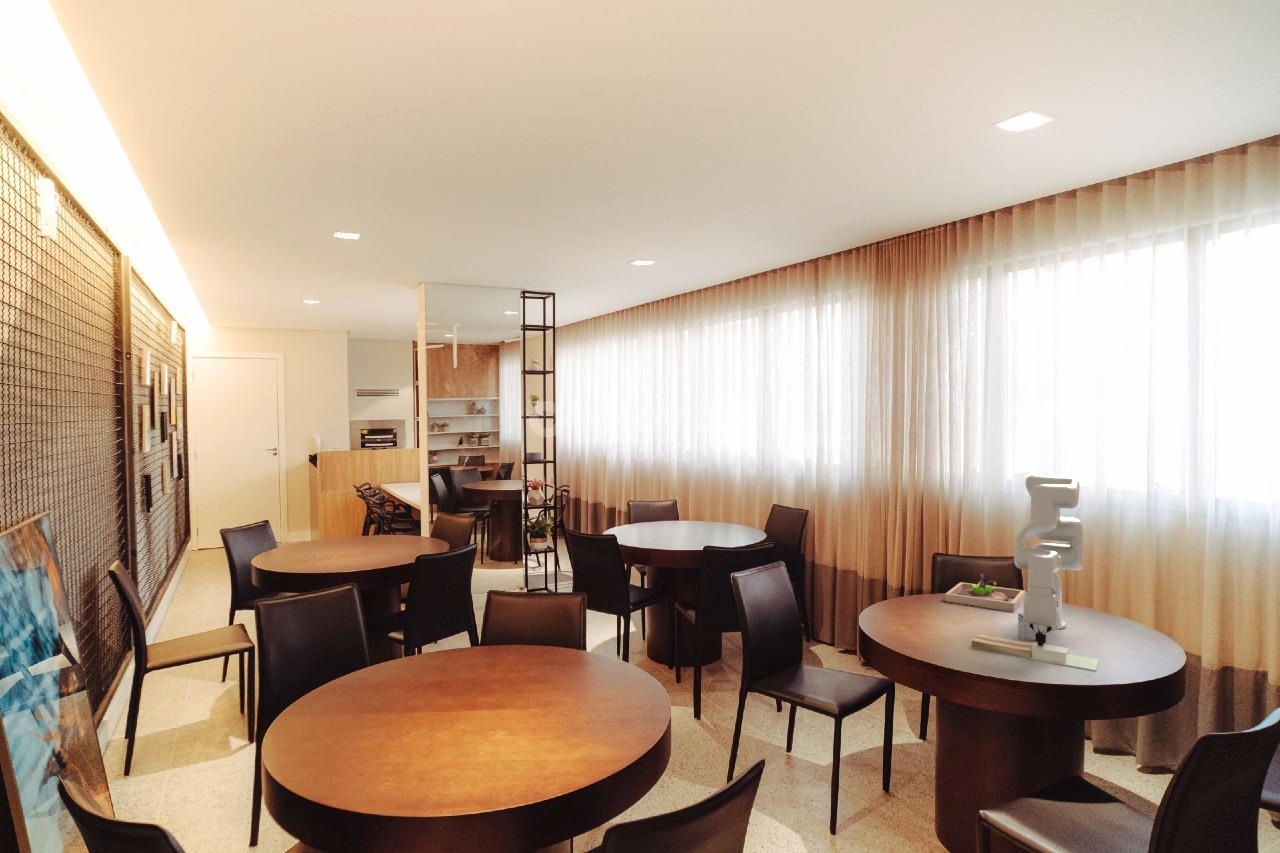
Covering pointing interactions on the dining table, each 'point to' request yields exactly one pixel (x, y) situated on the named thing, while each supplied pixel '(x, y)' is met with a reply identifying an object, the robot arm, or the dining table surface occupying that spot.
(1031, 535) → the robot arm
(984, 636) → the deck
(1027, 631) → the medicine box
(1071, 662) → the mat
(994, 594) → the plant
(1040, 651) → the cream rectangular block
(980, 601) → the planter tray
